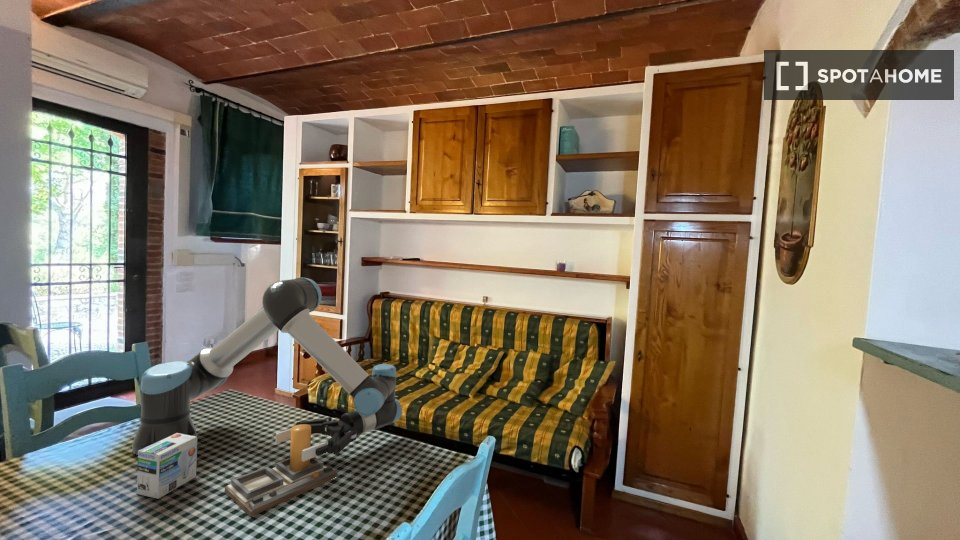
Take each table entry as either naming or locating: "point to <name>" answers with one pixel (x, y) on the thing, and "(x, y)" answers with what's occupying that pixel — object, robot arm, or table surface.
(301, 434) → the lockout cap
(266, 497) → the board
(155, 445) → the light bulb box
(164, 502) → the table surface
